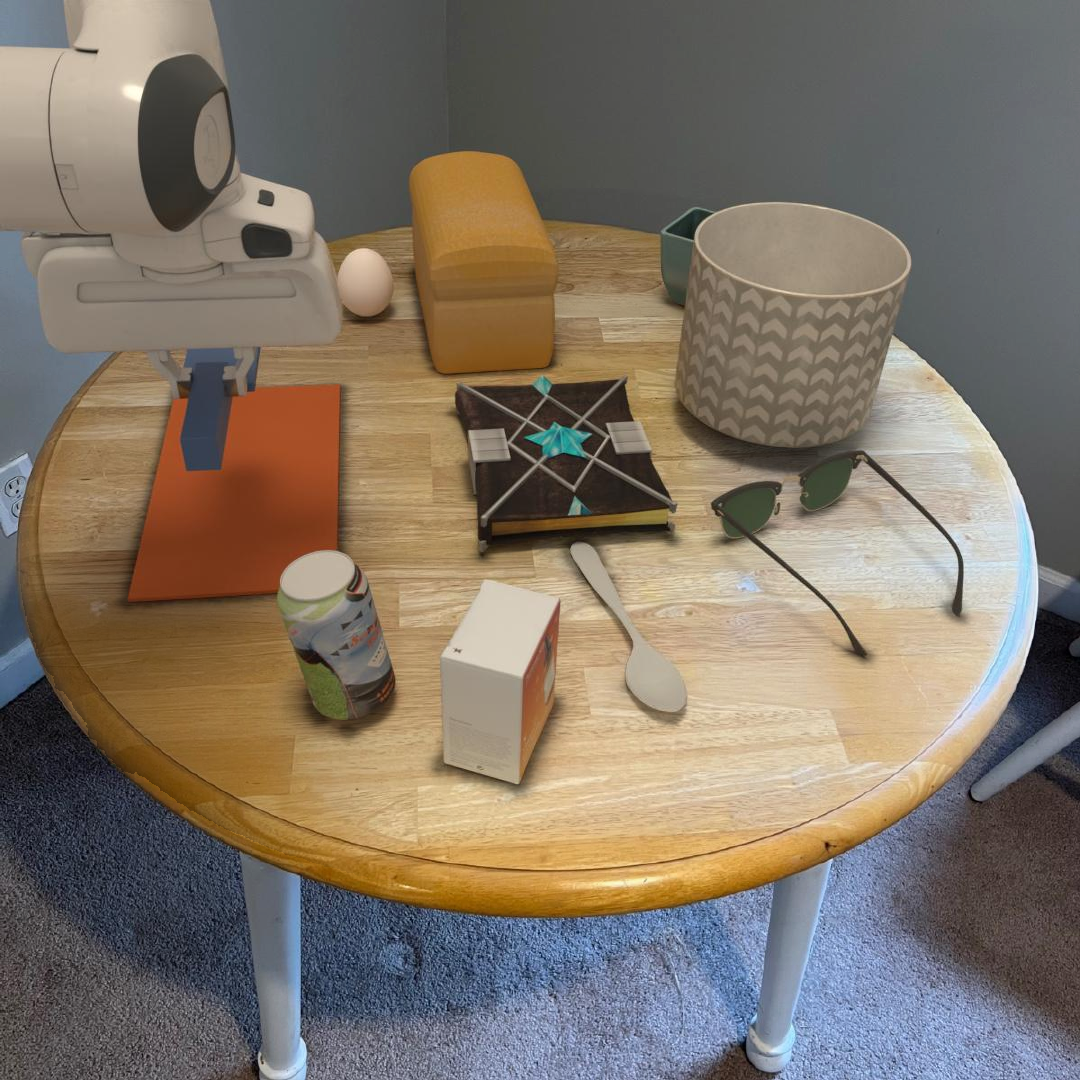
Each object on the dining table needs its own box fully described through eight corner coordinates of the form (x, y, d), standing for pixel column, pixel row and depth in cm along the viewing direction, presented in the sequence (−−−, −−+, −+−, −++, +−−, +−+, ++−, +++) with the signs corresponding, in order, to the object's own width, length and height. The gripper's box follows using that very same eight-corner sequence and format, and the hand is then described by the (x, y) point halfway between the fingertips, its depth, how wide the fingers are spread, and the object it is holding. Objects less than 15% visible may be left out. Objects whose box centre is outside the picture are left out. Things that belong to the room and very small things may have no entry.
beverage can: (391, 732, 76) (381, 607, 68) (285, 728, 76) (263, 603, 68) (401, 666, 81) (392, 542, 73) (301, 662, 81) (282, 538, 73)
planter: (758, 497, 98) (796, 316, 87) (633, 397, 110) (651, 226, 99) (905, 437, 106) (958, 265, 95) (774, 350, 118) (806, 187, 107)
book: (455, 413, 107) (454, 368, 104) (623, 404, 109) (627, 360, 106) (478, 554, 90) (478, 505, 87) (676, 540, 93) (683, 492, 89)
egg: (335, 304, 123) (329, 240, 118) (389, 298, 124) (385, 235, 119) (345, 330, 118) (339, 265, 114) (400, 323, 120) (396, 259, 115)
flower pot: (752, 297, 128) (765, 224, 122) (720, 327, 122) (732, 252, 116) (684, 277, 131) (694, 205, 125) (650, 305, 125) (658, 231, 119)
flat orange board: (336, 589, 87) (336, 585, 87) (128, 602, 85) (127, 598, 85) (340, 387, 110) (340, 384, 109) (176, 393, 108) (175, 390, 108)
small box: (519, 788, 73) (522, 680, 66) (441, 764, 74) (437, 656, 67) (556, 702, 79) (563, 595, 72) (483, 682, 80) (484, 575, 73)
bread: (555, 368, 114) (563, 232, 104) (432, 375, 112) (428, 237, 102) (518, 263, 132) (521, 139, 123) (411, 268, 130) (406, 142, 121)
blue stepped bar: (244, 469, 77) (239, 436, 75) (162, 472, 76) (155, 439, 74) (261, 345, 90) (256, 315, 88) (190, 347, 89) (185, 316, 87)
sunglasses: (832, 672, 82) (847, 625, 79) (700, 542, 93) (708, 496, 90) (988, 603, 88) (1007, 557, 85) (847, 489, 100) (859, 444, 96)
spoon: (646, 730, 77) (648, 715, 76) (553, 547, 92) (554, 532, 91) (699, 718, 78) (702, 702, 77) (600, 539, 93) (601, 524, 92)
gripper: (1, 241, 69) (56, 423, 78) (331, 233, 71) (348, 411, 80) (24, 199, 73) (73, 376, 82) (333, 194, 76) (348, 366, 85)
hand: (211, 393), depth 81 cm, fingers closed on blue stepped bar, 2 cm apart
